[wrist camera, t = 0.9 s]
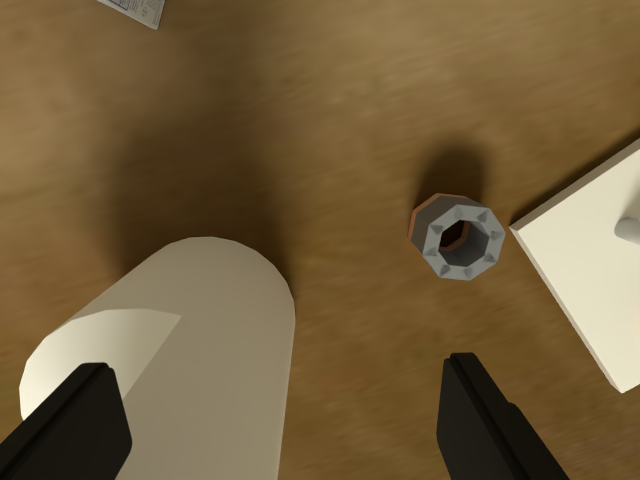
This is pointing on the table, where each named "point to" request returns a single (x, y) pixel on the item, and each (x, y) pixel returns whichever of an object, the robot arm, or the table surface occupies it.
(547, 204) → the pin board
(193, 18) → the table surface
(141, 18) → the medicine box
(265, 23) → the table surface
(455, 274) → the sleeve
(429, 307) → the table surface
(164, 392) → the cylinder
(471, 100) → the table surface
